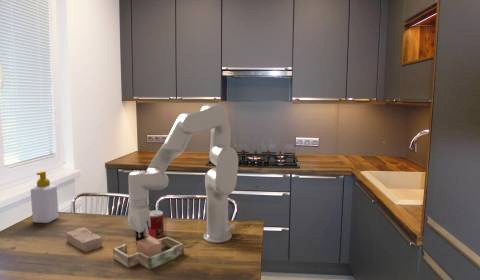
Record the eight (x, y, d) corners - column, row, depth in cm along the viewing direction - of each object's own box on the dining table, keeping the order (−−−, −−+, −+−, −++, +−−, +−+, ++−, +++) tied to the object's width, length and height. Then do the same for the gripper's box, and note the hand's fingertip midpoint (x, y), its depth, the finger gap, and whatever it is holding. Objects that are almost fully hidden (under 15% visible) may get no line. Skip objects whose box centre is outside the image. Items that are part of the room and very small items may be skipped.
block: (149, 250, 147) (149, 237, 146) (161, 257, 142) (160, 242, 141) (136, 255, 143) (136, 241, 142) (148, 262, 137) (147, 247, 137)
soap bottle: (31, 222, 178) (27, 173, 174) (44, 216, 187) (40, 169, 183) (47, 223, 176) (44, 174, 173) (59, 217, 185) (56, 170, 182)
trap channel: (157, 240, 157) (157, 232, 156) (185, 253, 145) (185, 244, 144) (112, 257, 141) (111, 248, 141) (139, 273, 129) (138, 263, 128)
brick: (103, 246, 152) (102, 236, 151) (84, 253, 145) (83, 242, 145) (84, 236, 162) (84, 226, 162) (66, 242, 156) (65, 232, 155)
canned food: (159, 240, 157) (159, 216, 156) (142, 238, 159) (142, 215, 158) (166, 233, 165) (166, 210, 163) (150, 232, 166) (149, 209, 165)
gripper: (120, 200, 146) (122, 243, 149) (141, 208, 136) (142, 254, 139) (137, 196, 152) (138, 237, 154) (157, 203, 142) (158, 247, 144)
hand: (140, 245), depth 146 cm, fingers closed
